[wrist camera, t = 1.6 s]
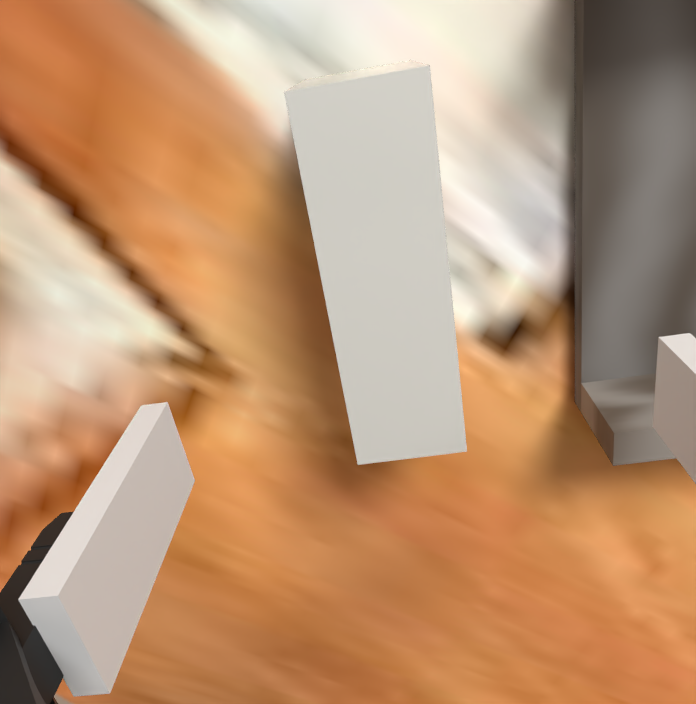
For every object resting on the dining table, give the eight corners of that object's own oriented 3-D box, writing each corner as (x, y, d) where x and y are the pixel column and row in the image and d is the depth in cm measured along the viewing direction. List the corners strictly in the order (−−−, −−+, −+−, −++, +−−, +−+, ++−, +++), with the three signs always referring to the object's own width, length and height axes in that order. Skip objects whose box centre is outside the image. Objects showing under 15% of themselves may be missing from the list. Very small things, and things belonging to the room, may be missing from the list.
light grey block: (358, 371, 36) (357, 464, 28) (305, 79, 29) (284, 91, 21) (442, 359, 35) (466, 451, 27) (410, 59, 28) (429, 65, 20)
